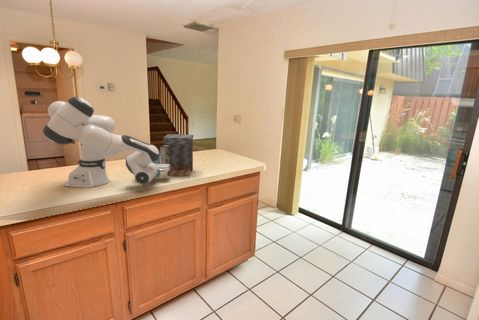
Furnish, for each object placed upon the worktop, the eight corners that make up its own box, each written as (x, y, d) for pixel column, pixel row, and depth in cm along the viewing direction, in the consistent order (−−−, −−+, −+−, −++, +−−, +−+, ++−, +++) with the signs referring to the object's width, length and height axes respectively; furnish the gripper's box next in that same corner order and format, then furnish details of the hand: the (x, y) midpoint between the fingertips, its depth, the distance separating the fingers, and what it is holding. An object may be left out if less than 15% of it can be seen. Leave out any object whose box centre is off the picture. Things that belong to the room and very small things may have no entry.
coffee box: (170, 165, 191) (169, 144, 187) (175, 166, 187) (175, 145, 184) (160, 167, 184) (159, 145, 180) (165, 168, 180) (164, 146, 176)
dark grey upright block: (164, 176, 162) (163, 137, 156) (169, 169, 178) (168, 134, 172) (190, 176, 164) (190, 138, 158) (193, 170, 179) (193, 134, 173)
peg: (151, 176, 161) (150, 155, 157) (153, 174, 165) (152, 154, 162) (158, 176, 161) (158, 155, 158) (160, 174, 165) (159, 154, 162)
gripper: (167, 165, 149) (172, 160, 162) (132, 164, 147) (139, 159, 160) (168, 175, 150) (172, 169, 163) (133, 175, 148) (140, 168, 162)
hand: (156, 164), depth 162 cm, fingers open, 8 cm apart
